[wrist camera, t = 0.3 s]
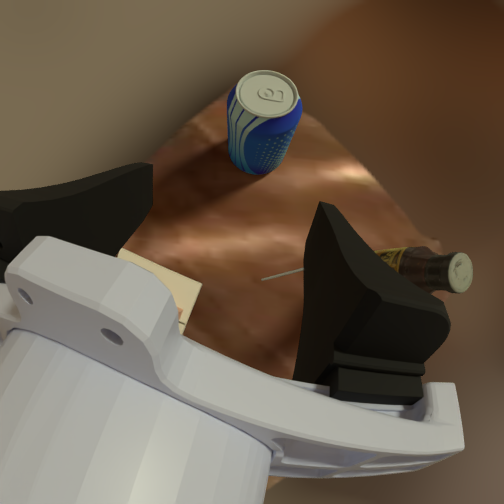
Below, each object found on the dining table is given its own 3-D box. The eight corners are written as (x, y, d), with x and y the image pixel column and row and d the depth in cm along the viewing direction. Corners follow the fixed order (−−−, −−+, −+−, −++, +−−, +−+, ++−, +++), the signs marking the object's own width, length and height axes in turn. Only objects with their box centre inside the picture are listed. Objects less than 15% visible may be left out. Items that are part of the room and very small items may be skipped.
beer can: (253, 188, 42) (264, 139, 26) (217, 149, 42) (210, 88, 26) (294, 156, 43) (322, 99, 27) (258, 120, 43) (269, 54, 27)
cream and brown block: (187, 322, 40) (181, 327, 35) (109, 285, 39) (97, 286, 35) (202, 283, 40) (198, 284, 36) (124, 248, 40) (113, 245, 36)
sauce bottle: (357, 250, 42) (439, 231, 22) (391, 252, 42) (479, 236, 23) (356, 293, 42) (438, 302, 22) (390, 293, 42) (478, 300, 22)
